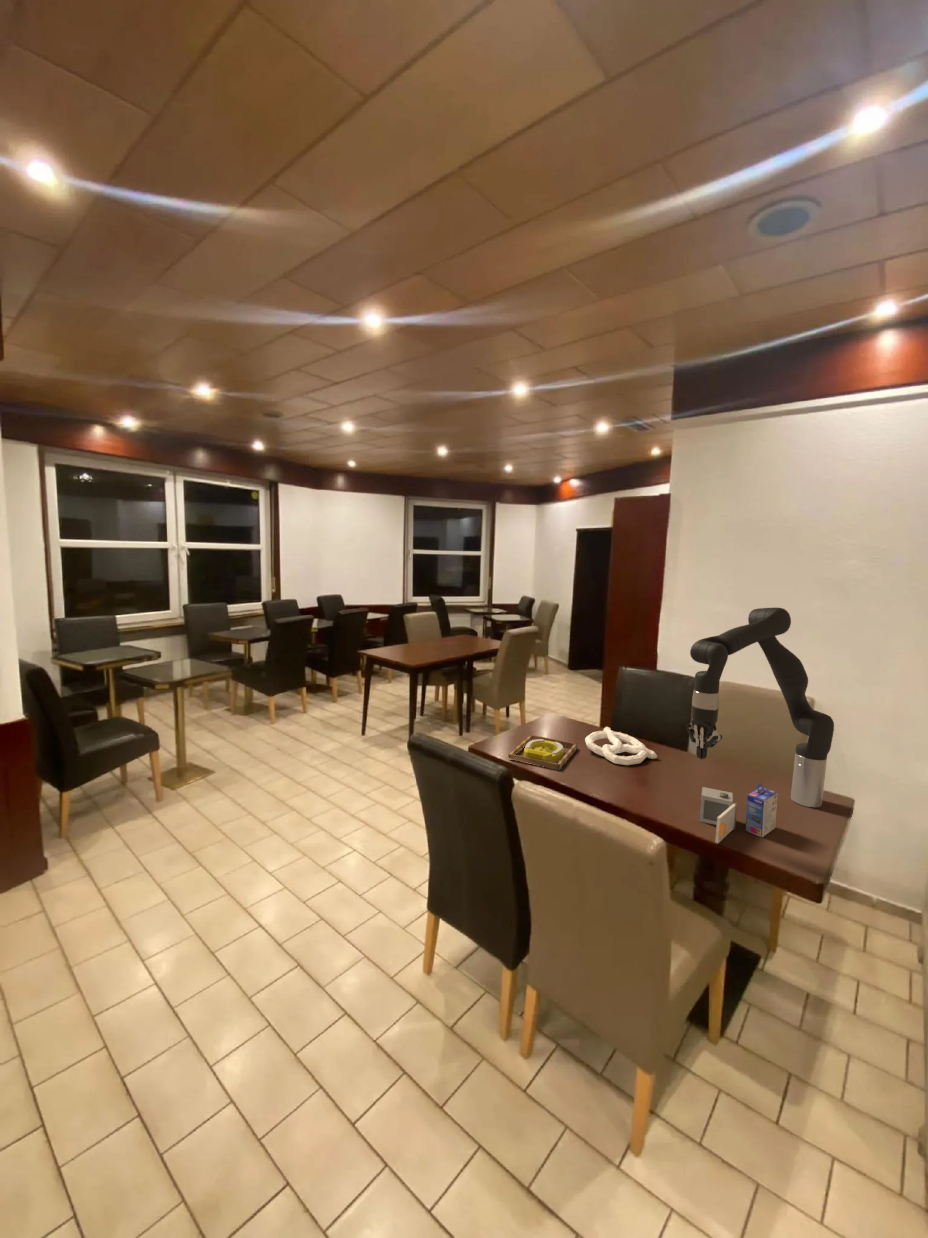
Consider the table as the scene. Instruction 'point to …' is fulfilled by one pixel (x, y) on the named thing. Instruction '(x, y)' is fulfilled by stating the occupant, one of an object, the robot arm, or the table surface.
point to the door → (726, 822)
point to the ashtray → (544, 750)
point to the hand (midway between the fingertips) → (701, 758)
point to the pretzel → (619, 747)
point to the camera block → (714, 804)
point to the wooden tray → (540, 762)
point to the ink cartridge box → (761, 811)
